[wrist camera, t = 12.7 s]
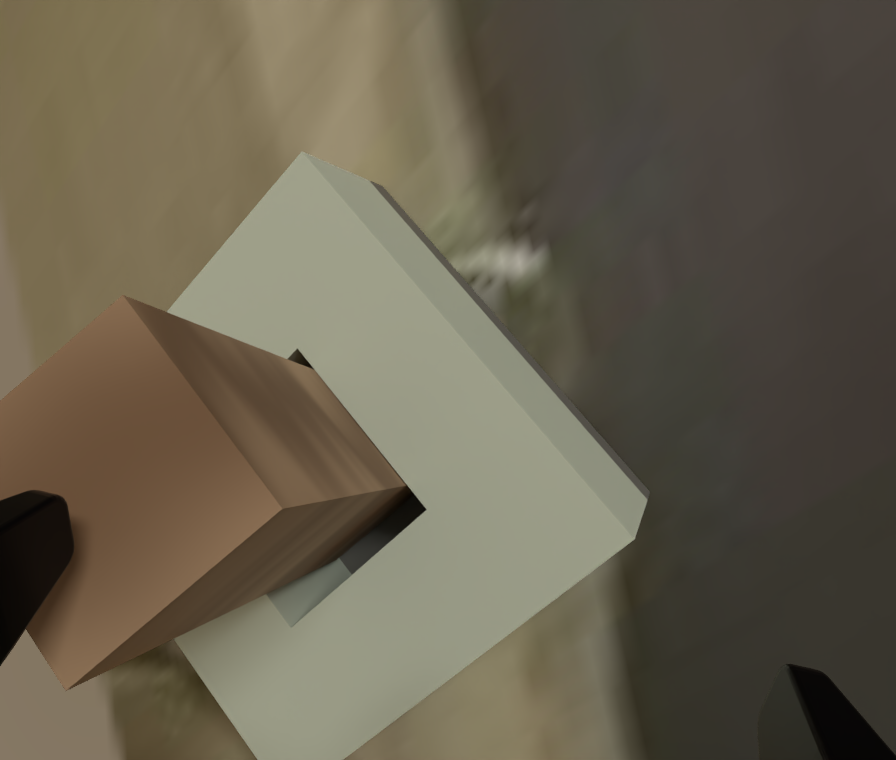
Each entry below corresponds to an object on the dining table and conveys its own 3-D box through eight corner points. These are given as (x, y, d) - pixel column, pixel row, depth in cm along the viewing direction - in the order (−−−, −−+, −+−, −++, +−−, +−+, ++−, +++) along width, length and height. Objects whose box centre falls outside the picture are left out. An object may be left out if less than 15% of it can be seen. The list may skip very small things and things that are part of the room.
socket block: (649, 492, 21) (634, 539, 17) (364, 713, 25) (286, 802, 20) (382, 186, 24) (301, 151, 19) (158, 433, 27) (46, 455, 23)
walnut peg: (431, 480, 23) (282, 508, 10) (335, 560, 23) (66, 691, 10) (354, 385, 23) (122, 295, 10) (262, 463, 23) (-78, 468, 11)
